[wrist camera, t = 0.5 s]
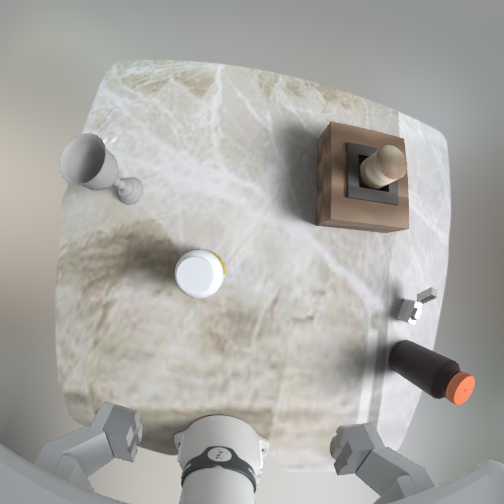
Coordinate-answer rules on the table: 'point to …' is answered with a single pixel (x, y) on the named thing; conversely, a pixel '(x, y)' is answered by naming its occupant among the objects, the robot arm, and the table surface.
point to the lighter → (415, 306)
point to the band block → (357, 182)
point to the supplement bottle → (200, 273)
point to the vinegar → (431, 372)
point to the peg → (382, 168)
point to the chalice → (96, 168)
